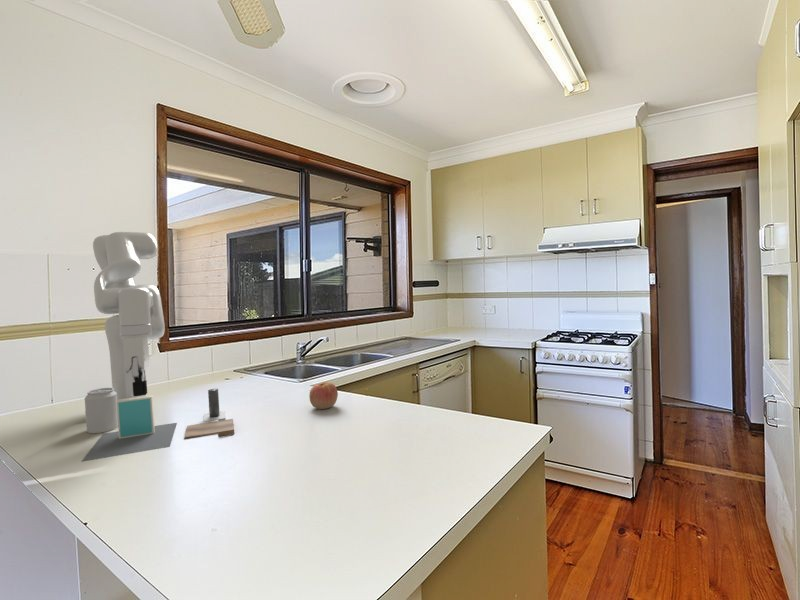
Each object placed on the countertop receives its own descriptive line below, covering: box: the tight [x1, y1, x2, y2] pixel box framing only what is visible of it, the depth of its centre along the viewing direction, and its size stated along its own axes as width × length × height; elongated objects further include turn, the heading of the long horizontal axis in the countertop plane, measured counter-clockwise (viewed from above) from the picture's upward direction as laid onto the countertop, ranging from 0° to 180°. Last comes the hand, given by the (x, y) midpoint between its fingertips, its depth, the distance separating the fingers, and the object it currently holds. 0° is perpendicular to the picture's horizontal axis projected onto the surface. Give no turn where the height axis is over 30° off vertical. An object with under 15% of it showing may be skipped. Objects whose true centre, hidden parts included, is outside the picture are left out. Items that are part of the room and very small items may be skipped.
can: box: [84, 387, 118, 434], centre depth 119 cm, size 8×8×12 cm
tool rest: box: [184, 418, 235, 440], centre depth 116 cm, size 10×12×1 cm
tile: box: [117, 395, 156, 439], centre depth 113 cm, size 2×8×10 cm, turn 113°
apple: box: [308, 381, 339, 410], centre depth 134 cm, size 9×9×8 cm
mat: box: [80, 422, 178, 462], centre depth 110 cm, size 20×18×1 cm
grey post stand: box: [202, 388, 227, 423], centre depth 127 cm, size 8×6×9 cm
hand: (140, 394), depth 120 cm, fingers closed
